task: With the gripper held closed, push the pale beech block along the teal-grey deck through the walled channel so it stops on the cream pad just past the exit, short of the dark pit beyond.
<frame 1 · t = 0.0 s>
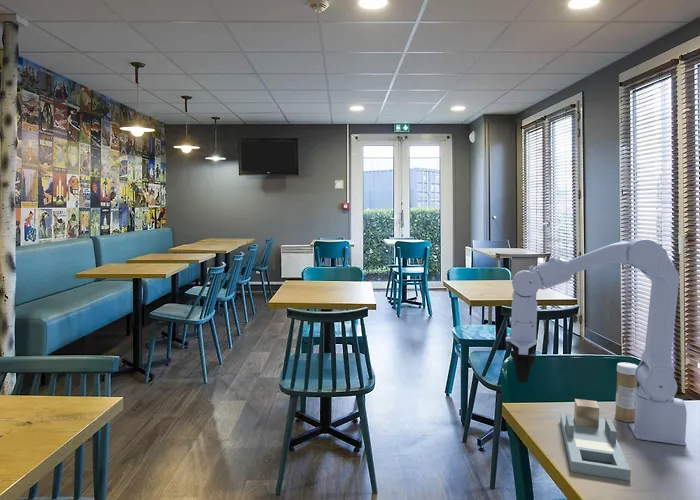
hand: (521, 376, 120), 10 cm above the table, tool pointing down, fingers open, 7 cm apart
deck: (590, 447, 106), on the table
block: (586, 422, 114), point 2 cm above the table, touching deck
sprinkles bottle: (625, 420, 121), on the table
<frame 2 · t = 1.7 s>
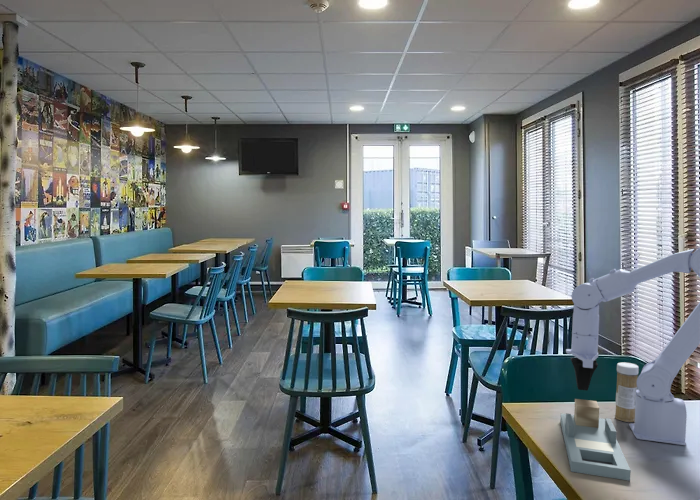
hand: (582, 389, 120), 7 cm above the table, tool pointing down, fingers closed
nothing on the table moved.
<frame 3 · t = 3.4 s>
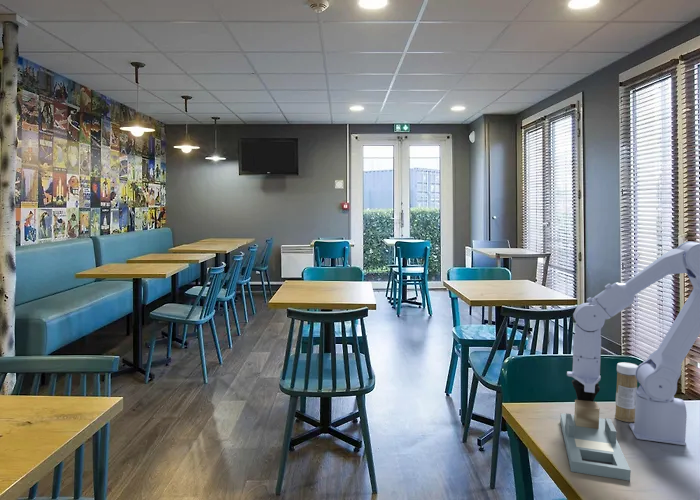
hand: (584, 413, 117), 3 cm above the table, tool pointing down, fingers closed
block: (586, 423, 113), point 2 cm above the table, touching deck, gripper
everything else where it was.
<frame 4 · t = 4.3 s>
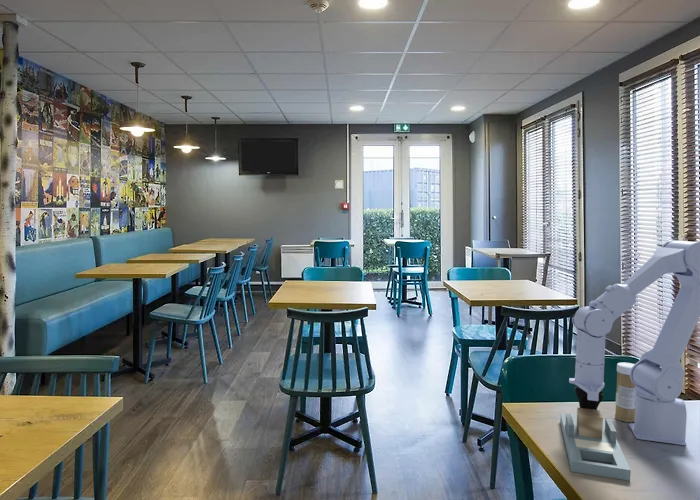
hand: (587, 421, 112), 3 cm above the table, tool pointing down, fingers closed
block: (588, 432, 108), point 2 cm above the table, touching gripper
everything else where it was.
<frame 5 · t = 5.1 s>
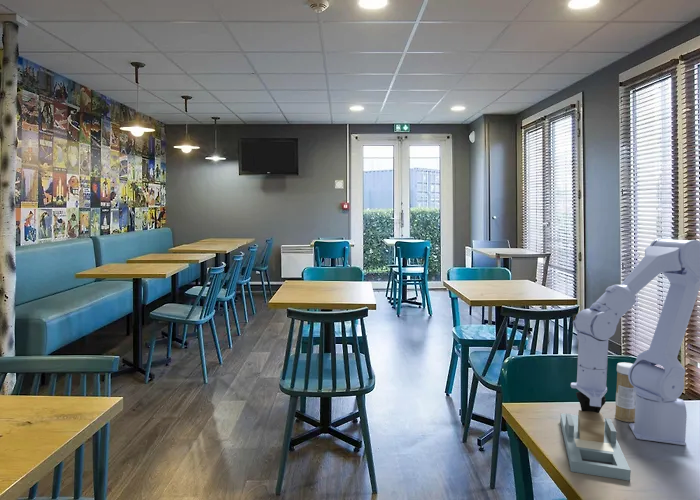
hand: (589, 427, 108), 3 cm above the table, tool pointing down, fingers closed, pressing on block
block: (590, 436, 106), point 2 cm above the table, touching deck, gripper
everything else where it was.
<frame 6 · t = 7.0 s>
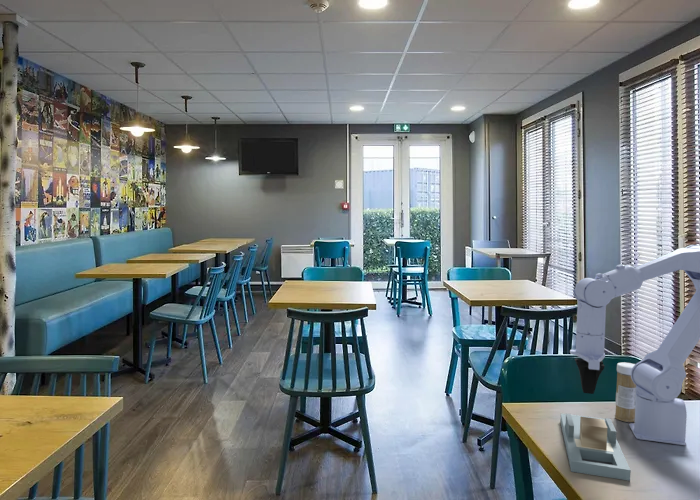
hand: (588, 392, 112), 9 cm above the table, tool pointing down, fingers closed
block: (592, 443, 103), point 2 cm above the table, touching deck
everything else where it was.
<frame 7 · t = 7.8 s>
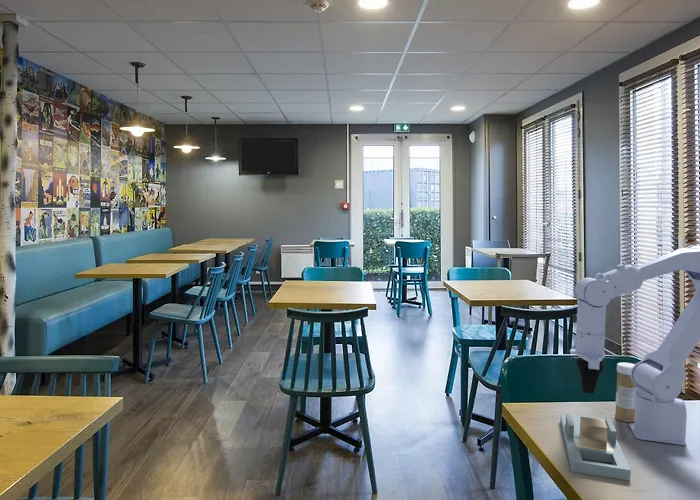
hand: (587, 392, 112), 9 cm above the table, tool pointing down, fingers closed
nothing on the table moved.
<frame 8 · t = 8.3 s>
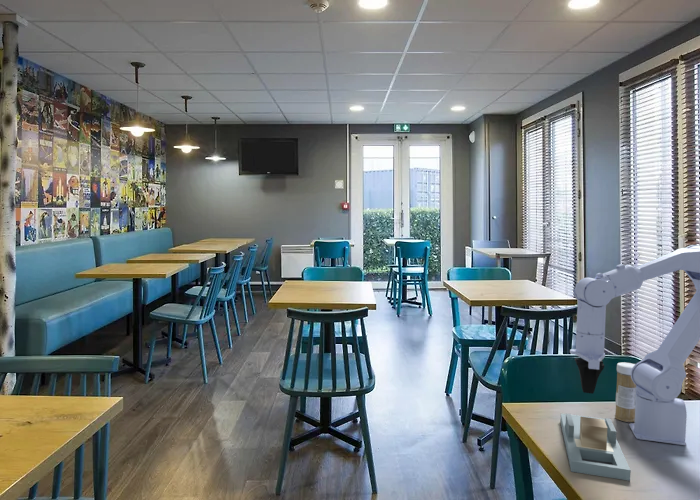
hand: (587, 392, 112), 9 cm above the table, tool pointing down, fingers closed
nothing on the table moved.
at the end: block inside the target area (0.4 cm from its centre), point 2.0 cm above the table; block tilted 0° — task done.
